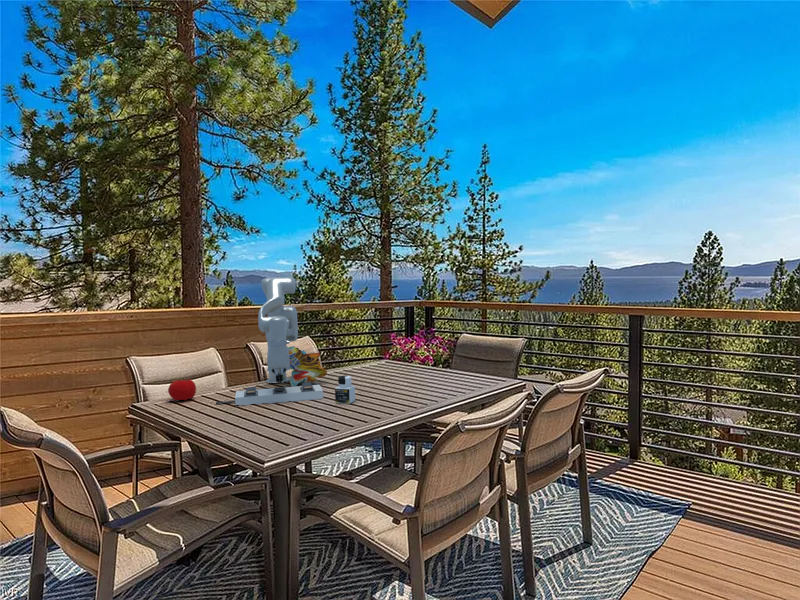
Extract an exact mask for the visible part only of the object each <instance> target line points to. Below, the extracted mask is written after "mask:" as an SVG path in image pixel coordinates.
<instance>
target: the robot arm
mask: <svg viewBox="0 0 800 600" xmlns="http://www.w3.org/2000/svg"><path fill="white" fill-rule="evenodd" d="M260 285H261V288H262V291H263V293H264V296H265V298H266V301H265V302H264V303H263V304H262V306H260V308H259V310H258V316H257V318H258V329H259V331H260V332H261V333H265V337H266V338H265V339H266V344H267V357H266V359H267V362H266V363H267V368H266V369H267V370H266V371H268V379H266V380H265V382H269V383H280V384H284V382H286V383H288V381H289V382H290V377H289V378H288V377H287V371H290V370H292V369H291V368H290V358H289V350H288V347H289V346H287V345H289V344H290V343H291V342H293V343H294V342H296V341H297V340H298V338H299V328H298V311H297V308H296V307H295V306H293V305H285V302H286V301H285V295H289V294H290V295H291V294H294V293H295V292H296V287H297V286H296V285H297V284H296V280H295V279H294V277H291V276H287V277H286V276H282V277H279V276H276V277H275V276H273V277H264V278H263V279H261V282H260ZM266 315H267V316H266ZM269 383H268V384H269Z"/></svg>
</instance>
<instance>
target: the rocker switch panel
mask: <svg viewBox="0 0 800 600" xmlns="http://www.w3.org/2000/svg"><path fill="white" fill-rule="evenodd" d="M283 387H284V388H285V390H283V391H275V389H274V388H275V387H273V388H272V387H271V388H262V389H260V388H259V389H256V394H255V395H246V390H236V391H235V397H234V400H223V401H216V402H215V403H216V404H218V403H229V404H232V403H231V402H235V403H234V404H235V405H246V406H251V405H250V404H257V405H263V404H262V403H269V404H277V403H276V402H280V403H288V402H287V401H291V402H301V401H302V402H303V401H314V400H323V399H324V389H323V388H322V386H321V385H320V384H312V388H313V390H304V391H303V388H302V385H299V386H298V385H296V386H295V387H292V386H287V387H286V386H283ZM216 404H215V405H216ZM218 405H219V404H218Z"/></svg>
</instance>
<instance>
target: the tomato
mask: <svg viewBox="0 0 800 600" xmlns="http://www.w3.org/2000/svg"><path fill="white" fill-rule="evenodd" d="M196 385H197V384H196V383H195V382H194V381H193V380H192V379H190V378H183V377H182V379H177V380H174V381H172V382H171V383H170V385H169V386H168V389H167V392H168V395H169V396H170V397H171V398H172V399H173V400H175V401H177V400H185V401H188V400H187V399H190V400H192V399H193V398H194V396H195V395H196V393H197V387H196ZM191 398H192V399H191Z"/></svg>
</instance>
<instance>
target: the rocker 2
mask: <svg viewBox="0 0 800 600" xmlns="http://www.w3.org/2000/svg"><path fill="white" fill-rule="evenodd" d="M312 385H313V383H312V384H311V382H310V383H305V382H302V383H301V386H302V388H303V391H304V390H313V388H312Z"/></svg>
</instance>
